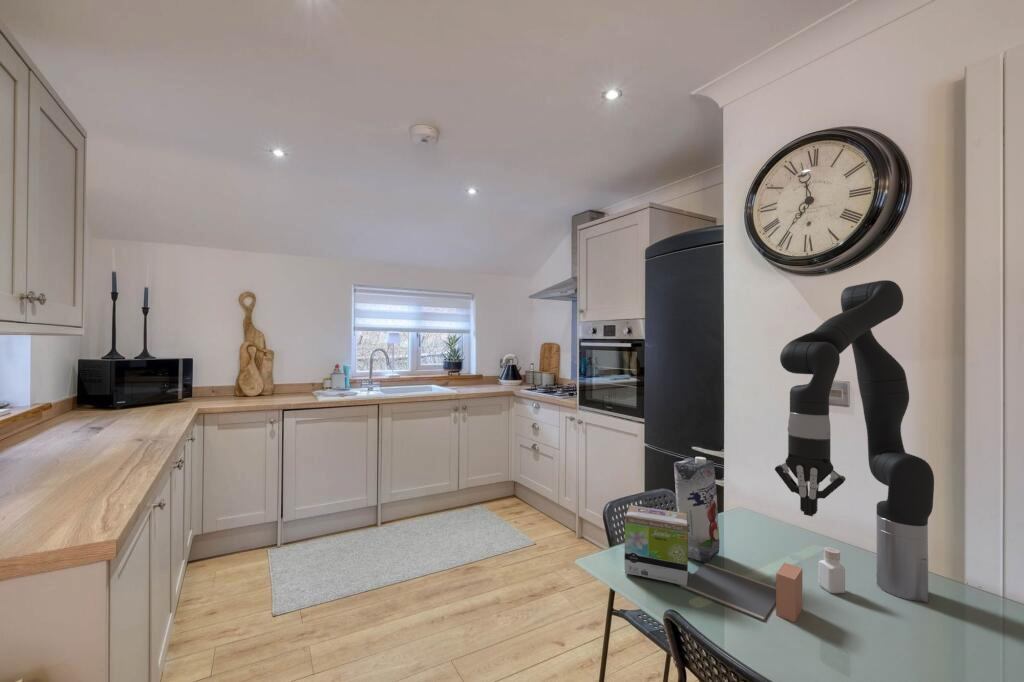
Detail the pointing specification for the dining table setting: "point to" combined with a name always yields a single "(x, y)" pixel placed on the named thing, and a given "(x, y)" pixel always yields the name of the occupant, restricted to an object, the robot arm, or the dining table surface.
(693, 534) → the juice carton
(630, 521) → the tea box
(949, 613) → the dining table surface
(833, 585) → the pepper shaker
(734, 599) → the tray
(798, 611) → the brick
